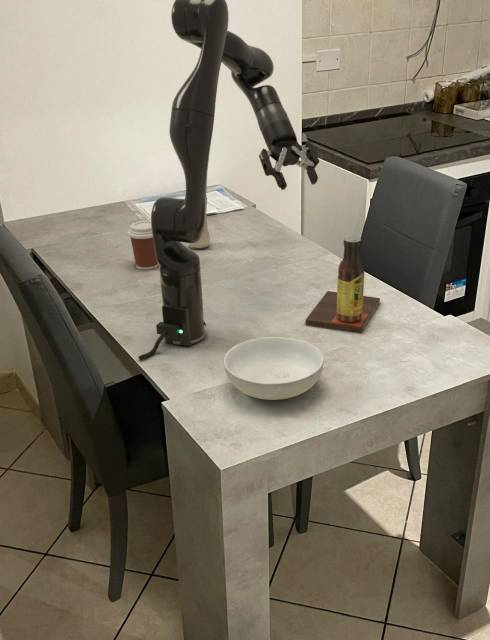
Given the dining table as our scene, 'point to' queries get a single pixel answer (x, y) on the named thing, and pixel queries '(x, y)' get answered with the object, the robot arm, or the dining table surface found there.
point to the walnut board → (327, 314)
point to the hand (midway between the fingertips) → (299, 185)
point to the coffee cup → (143, 245)
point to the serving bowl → (273, 367)
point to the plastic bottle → (203, 235)
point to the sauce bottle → (350, 282)
